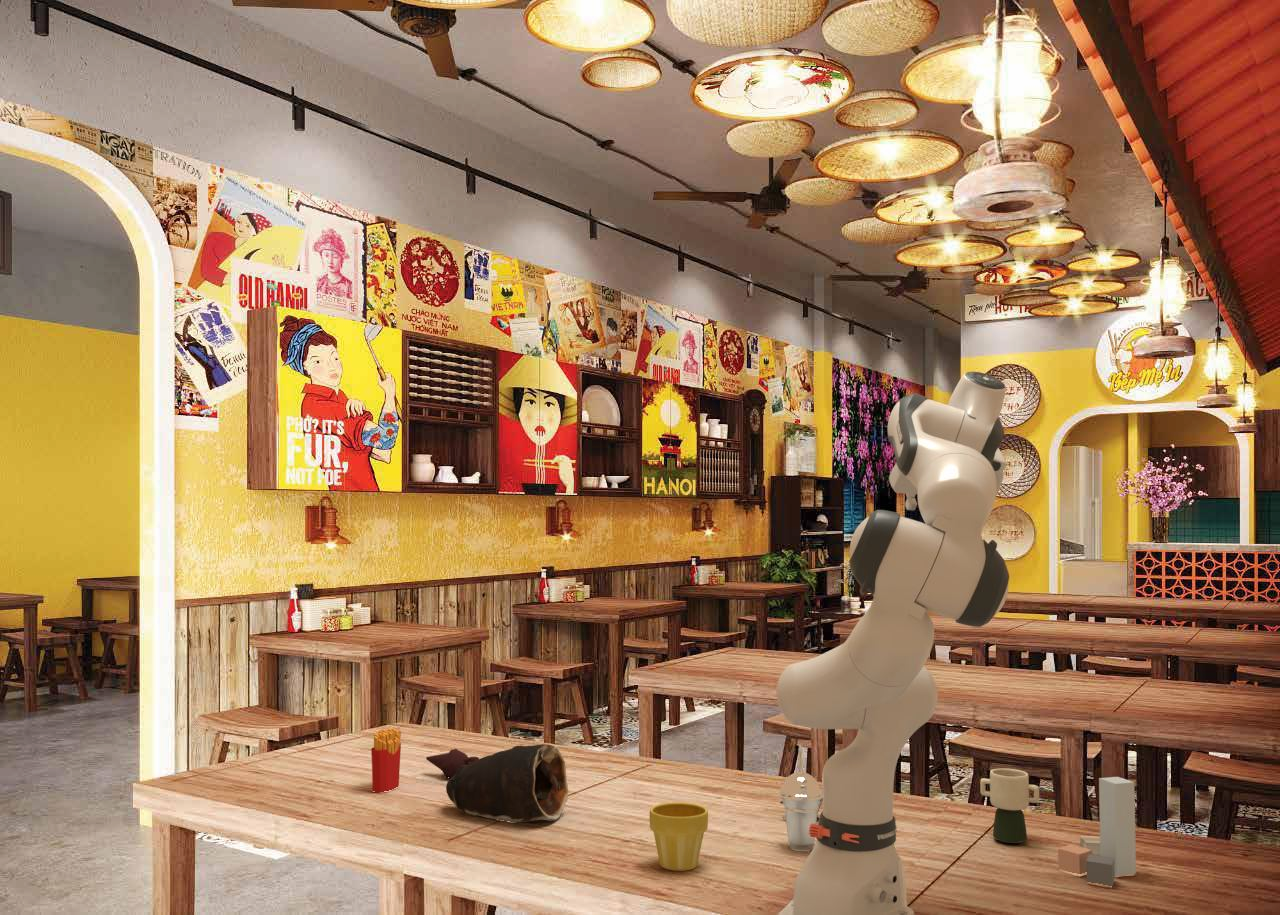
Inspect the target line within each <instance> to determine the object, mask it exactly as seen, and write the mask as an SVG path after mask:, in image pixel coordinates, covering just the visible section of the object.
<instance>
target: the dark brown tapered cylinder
mask: <svg viewBox="0 0 1280 915" xmlns="http://www.w3.org/2000/svg"><path fill="white" fill-rule="evenodd" d="M566 770H567V768H566V760H565V759H564V757H563V755H562V753H561V752H560V750H559V749H558V747H555V746H554V744H549V743H548V744H545V743H544V744H535V745H515V746H513V747H512V748H510V749H509V748H508V749H505V750H501V751H498V752H495V753H493V754H490V755H486V756H483V757H481V758H479V759H478V760H476V761H474V762H472V763H471V764H468V765H462V766H461V767H460V768H459V769H458V770H457V772H456V774H455V775H454V776H453V777H452V778H448V781H447V783H446V786H445V791H446V795H447V796H448V799H449V800H450V801H451V802H452V803H453V805H454V806H455V807H456V808H457V809H458V810H459V811H462V812H464V813H466V814H468V813H469V814H468V815H470V814H473V815H472V816H477V815H478V817H479V816H481V817H484V818H486V817H487V819H490V818H492V819H491V820H493V819H498V820H504V821H510V822H518V823H523V822H524V823H525V822H532V821H549V822H550V821H556V820H558V819H559V818H560V817H561V815H562V812H563V810H564V808H565V807H566V803H567V801H568V797H569V785H568V779H567V771H566Z"/></svg>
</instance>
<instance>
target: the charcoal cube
mask: <svg viewBox="0 0 1280 915" xmlns="http://www.w3.org/2000/svg"><path fill="white" fill-rule="evenodd" d="M1086 868H1087V875H1086V883H1087V882H1091V883H1098V884H1103V885H1108V886H1113V887H1114V885H1113V883H1114V884H1115V882H1114V879H1115V874H1114V858H1110V857H1103V856H1097V855H1090V854H1089V855H1088V858H1087V861H1086Z"/></svg>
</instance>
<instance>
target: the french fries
mask: <svg viewBox="0 0 1280 915" xmlns="http://www.w3.org/2000/svg"><path fill="white" fill-rule="evenodd" d="M401 735H402V731H401V730H400V729H398V730H397V729H396V728H394V727H393V728H390V727H389V728H387V729H379V730H378V732H375V733H373V747H371V749H370V750H371V751H370V752H371V754H370V755H371V780H372V781H371V783H372V784H371V785H372V792H373V791H375V792H384V791H389V790H392V789H394V788H396V787H398V786H399V785H400V769H401V768H400V767H401V749H402V748H401V747H402V742H401V737H402V736H401ZM399 787H400V786H399ZM394 790H395V789H394ZM392 791H393V790H392ZM375 792H374V793H375Z"/></svg>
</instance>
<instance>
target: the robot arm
mask: <svg viewBox="0 0 1280 915" xmlns="http://www.w3.org/2000/svg"><path fill="white" fill-rule="evenodd" d="M1006 391H1007V386H1006V384H1005V383H1004V382H1003V381H1002V380H1001V379H999V378H997V377H995V376H993V375H990V374H988V373H986V372H985V373H984V372H980V371H966V372H965V373H964V374H963V375H962V376H961V378H960V379H959V381H958V382H957V384H956V386H955V387H954V390H953V392H952V394H951V396H950V399H949V400H948V402H947V404H945V403H942V402H938V401H936V400H932V399H931V398H929V397H927V396H924V395H922V394H919V393H917V392H915V393H911V394H908V395H906V396H904V397H901V398H900V399H898V401H897V403H895V405H894V406H893V409H892V410H891V412H890V414H889V415H890V416H889V417H888V421H887V422H888V423H887V438H888V440H889V441H888V442H889V443H890V444H891V446H892V448H893V452H894V456H895V461H896V462H895V464H894V466H893V468H892V470H891V471H890V474H889V478H888V480H889V484H890V486H891V488H892V489H893V491H894V492H895V493H897V494H905V496H906V500H905V503H904V506H905V509H906V510H907V511H915V510H917V509H916V508H917V506H918V509H919V512H920V515H921V517H922V519H923V522H922V521H918V520H915V519H912V518H909V517H904V516H901V513H899V512H896V511H891V510H885V509H876V510H874V511H872V512H870V513H869V515H868V516H867V517H865V519H863V520H862V521H861V522H860V524H859V525H857V527H856V529H855V530H854V532H853V534H852V537H851V538H850V539H851V540H850V544H849V545H850V546H849V561H848V563H849V567H850V570H851V573H852V576H853V577H854V579H855V581H856V582H857V584H859V585H860V589H859V593H860V594H861V595H862V596H864V595H865V594H866V593H867V591H868V592H869V593H870V595H871V596H872V597H873V599H872V601H871V605H870V606H869V608H868V609H867V611H866V612H865V613H864V615H863V616H862V617H861V618H860V619H859V621H857V623H856V625H855V626H854V627H853V629H852V631H851V633H850V634H849V635H848V637H847V639H846V640H845V641H844V642H843V643H842V644H840V645H838V646H836V647H834V648H832V649H830V650H828V651H826V652H824V653H821V654H820V655H818V656H815V657H812V658H809V659H806V660H803V661H799V662H798V661H797V662H793V663H790V664H788V665H786V667H785V668H784V669H783V671H782V673H781V674H780V676H779V678H778V681H777V683H776V684H777V685H776V692H775V693H776V694H775V696H776V701H777V706H778V707H779V710H780V712H781V713H782V714H781V715H783V717H784V718H785V720H787V722H789V723H790V724H791V725H796V726H798V727H799V726H800V727H805V728H811V729H816V730H857V733H856V734H857V735H856V736H855V738H854V740H853V741H852V742H851V743H850V744H849V745H848V746H846V747H844V748H842V749H841V750H838V751H837V752H835V753H834V754H833V755H831V756H830V757H829V758H828V759H827V760H826V761H825V763H824V766H823V769H822V776H821V778H822V784H821V785H822V788H821V790H822V792H823V801H822V811H821V813H820V814H819V820H817V821H818V822H817V823H816V824H813V823H812V824H811V825H810V828H809V832H810V833H809V835H810V836H811V837H815V838H816V840H817V841H816V842H815V844H814V845H813V850H811V852H809V855H808V857H807V858H806V860H805V862H804V863H803V864H802V867H801V869H800V871H799V873H798V874H797V876H796V878H795V881H794V887H793V899H791V901H789V902H788V904H787V905H786V906H784V908H782V910H780V911H779V913H778V914H777V915H915V910H913V909H912V908H911V907H909V906H908V902H907V901H908V899H907V889H906V888H907V887H906V876H905V866H904V865H905V864H904V861H903V860H902V858H901V857H900V855H899V853H898V851H897V848H896V846H895V843H896V841H897V832H898V831H897V830H898V828H897V824H896V818H895V816H894V815H893V814H894V813H893V812H894V782H895V772H896V768H897V763H898V759H900V758H899V757H900V755H901V753H902V751H903V749H904V747H905V745H906V744H907V742H908V741H909V739H910V738H911V736H913V734H914V733H916V732H917V731H918V729H920V728H921V727H922V726H923V725H925V724H926V723H928V722H929V720H930V719H931V718H932V716H933V715H934V713H935V711H936V708H937V705H938V700H939V698H938V697H939V693H938V687H937V683H936V680H935V678H934V676H933V675H932V673H931V671H930V670H929V669H928V668H927V667H926V666H925V665H926V663H927V660H928V658H929V656H930V654H931V651H932V648H933V645H934V639H935V626H934V623H933V619H932V618H931V616H930V614H929V613H928V612H931V613H932V614H935V615H939V616H942V617H945V618H949V619H952V620H955V623H956V624H959V625H964V626H968V627H973V628H974V627H975V628H981V627H983V626H985V625H987V624H989V623H990V622H991V621H992V619H993V618H995V616H996V615H997V614H998V613H999V612H1000V611H1001V609H1003V606H1004V604H1005V602H1006V600H1007V598H1008V593H1009V581H1010V574H1009V569H1008V566H1007V564H1006V561H1005V558H1003V557H1002V555H1001V554H1000V552H999V551H998V550H997V548H998V543H997V541H995V540H994V539H992V540H990V541H989V542H987V541H986V540H985V539H983V537H982V531H983V528H984V527H985V525H986V523H987V521H988V520H989V518H990V516H991V513H992V511H993V509H994V506H995V501H996V496H997V495H998V493H999V491H1000V488H1001V486H1002V483H1003V481H1004V472H1003V471H1005V470H1006V467H1007V462H1006V459H1005V457H1004V455H1003V453H1002V451H1001V450H1000V448H999V446H1000V445H1001V443H1002V441H1003V439H1004V436H1005V430H1004V427H1003V424H1002V422H1001V420H1000V418H999V417H1000V414H1001V411H1002V408H1003V403H1004V400H1005V396H1006V393H1007V392H1006ZM916 495H917V500H916V498H915V497H916Z"/></svg>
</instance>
